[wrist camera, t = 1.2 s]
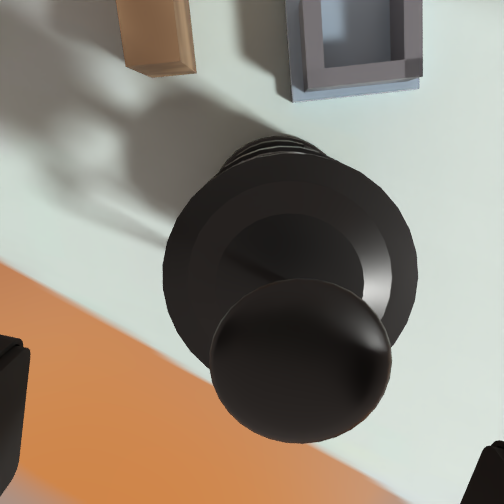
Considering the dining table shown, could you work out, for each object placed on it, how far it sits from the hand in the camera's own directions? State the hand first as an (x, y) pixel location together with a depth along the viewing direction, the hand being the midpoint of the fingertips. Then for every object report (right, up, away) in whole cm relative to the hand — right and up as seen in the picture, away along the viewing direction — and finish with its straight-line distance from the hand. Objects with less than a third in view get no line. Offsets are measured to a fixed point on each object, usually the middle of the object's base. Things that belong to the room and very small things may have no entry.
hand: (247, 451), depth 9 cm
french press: (+2, +7, +23) cm, 25 cm away
